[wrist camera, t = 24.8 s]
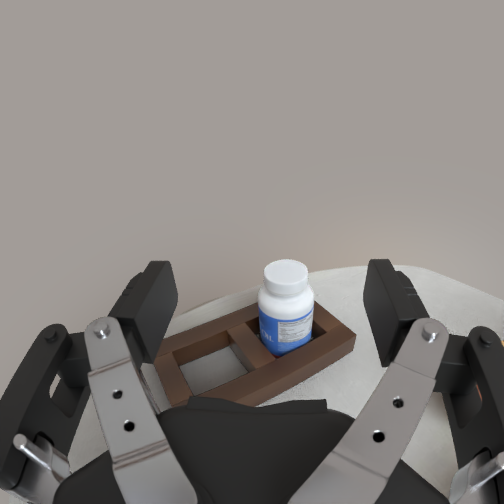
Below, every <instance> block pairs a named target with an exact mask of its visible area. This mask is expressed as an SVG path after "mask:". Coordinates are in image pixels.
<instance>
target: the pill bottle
mask: <svg viewBox="0 0 504 504" xmlns="http://www.w3.org/2000/svg"><path fill="white" fill-rule="evenodd" d="M313 309H314V292H313V289H312V288H311V286H310V285H309V284H308V269H307V267H306V266H305V265H304V264H303V263H301V262H298V261H296V260H290V259H283V260H277V261H274V262H272V263H270V264H268V265H267V266H266V267H265V269H264V285H263V286H262V287H261V288H260V290H259V293H258V310H259V323H260V337H261V342H262V343H263V345H264V346H265V347H266V348H267V349H268V350H269V352H270V353H271V354H272V355H273V356H274V357H275V359H278V358H280V357H282V356H284V355H286V354H288V353H290V352H292V351H294V350H296V349H298V348H300V347H302V346H303V345H305V344H307V343H309V342H311V332H312V321H313Z"/></svg>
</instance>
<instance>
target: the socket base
mask: <svg viewBox="0 0 504 504" xmlns="http://www.w3.org/2000/svg"><path fill="white" fill-rule="evenodd" d="M259 332H260V323H259V310H258V302H257V303H255V304H252V305H250V306H247V307H245V308H242V309H240V310H238V311H235V312H233V313H230V314H228V315H225V316H223V317H220V318H218V319H215V320H212V321H210V322H207V323H205V324H202V325H200V326H197V327H194V328H192V329H189V330H187V331H184V332H181V333H179V334H176V335H173V336H171V337H168V338H165V339H163V340H162V343H161V345H160V348H159V350H158V353H157V355H156V358H155V361H154V366H155V368H156V371H157V373H158V376H159V378H160V381H161V383H162V386H163V388H164V390H165V393H166V395H167V397H168V400H169V402H170V404H171V406H172V408H174V407H177V406H182V405H187V403H188V399H189V395H190V396H193V394H192V392H191V390H190V388H189V386H188V384H187V382H186V380H185V378H184V376H183V374H182V372H181V370H180V368H179V366H180V365H183V364H185V363H188V362H190V361H193V360H195V359H198V358H200V357H203V356H205V355H208V354H210V353H213V352H215V351H218V350H220V349H222V348H225V347H227V346H230V347H231V349H232V350H233V352H234V353H235V354H236V356H237V357H238V358H239V360H240V361H241V363H242V364H243V365H244V367H245V368H246V369H247V371H248V372H249V373H247V374H245V375H243V376H241V377H239V378H237V379H234V380H232V381H230V382H228V383H225V384H223V385H221V386H218V387H216V388H214V389H211V390H209V391H207V392H204V393H202V394H200V395H197V396H200V397H211V398H222V399H226V400H229V401H233V402H236V403H240V404H243V405H247V406H251V407H255V406H257V405H259V404H261V403H263V402H265V401H267V400H269V399H271V398H273V397H275V396H277V395H279V394H280V393H282V392H284V391H286V390H288V389H290V388H292V387H293V386H295V385H297V384H299V383H300V382H302V381H304V380H306V379H307V378H309V377H311V376H313V375H314V374H316V373H318V372H319V371H321V370H323V369H324V368H326V367H328V366H329V365H331V364H333V363H334V362H336V361H337V360H339V359H341V358H342V357H344V356H345V355H347V354H348V353H350V352H351V351H353V348H354V344H355V340H356V334H355V333H354V332H353V331H351V330H350V329H349V328H348V327H346V326H345V325H344V324H342V323H341V322H340V321H339V320H338V319H337V318H335V317H334V316H333V315H332V314H330V313H329V312H328V311H327V310H325V309H324V308H323V307H322V306H321V305H319V304H318V303H317V302H316V301H314V309H313V321H312V332H311V335H312V336H313V337H314V338H315V339H314V340H313V341H311V342H309V343H307V344H305V345H303V346H302V347H300V348H298V349H296V350H294V351H292V352H290V353H288V354H286V355H284V356H282V357H280V358H278V359H275V357H274V356H273V355H272V354H271V353H270V352H269V350H268V349H267V348H266V347H265V346H264V345H263V343H262V342H261V341H260V340H259V339H258V338H257V336H256V335H255V334H257V333H259Z"/></svg>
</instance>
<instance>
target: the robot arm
mask: <svg viewBox="0 0 504 504" xmlns="http://www.w3.org/2000/svg"><path fill="white" fill-rule="evenodd" d="M177 302H178V293H177V288H176V284H175V280H174V275H173V271H172V267H171V264H170V262H169V261H151V262H150V263H149V264H148V266H147V267H146V269H145V270H144V272H143V273H141V272H140V273H139V274H137V275H136V276H135V277H133V278H132V279H131V280H130V282H129V283H128V285H127V287H126V289H124V291H123V292H122V295H121V296H120V297H119V299H118V300H117V302H116V303H115V305H114V306H113V308H112V310H111V311H110V313H109V315H108V316H107V317H102V318H98V319H96V320H94V321H93V322H91V323H90V324H89V325H88V326H87V328H86V329H85V332H80V333H73V334H69V333H68V332H67V329H66V328H65V326H63V325H62V324H52V325H50V326H48V327H46V328H44V329H43V330H42V331H41V332H40V334H39V335H38V336H37V338H36V340H35V341H34V343H33V344H32V346H31V348H30V349H29V351H28V352H27V354H26V356H25V357H24V359H23V361H22V362H21V364H20V366H19V367H18V369H17V371H16V373H15V374H14V376H13V378H12V379H11V381H10V383H9V385H8V387H7V389H6V390H5V392H4V394H3V396H2V398H1V400H0V488H1V489H2V490H4V491H6V492H8V493H9V494H11V495H13V496H14V497H16V498H18V499H20V500H22V501H24V502H27V503H29V504H504V346H503V344H502V342H501V340H500V338H499V337H498V335H497V334H496V333H495V332H494V331H492V330H491V329H489V328H487V327H483V326H478V327H475V328H473V329H472V330H471V331H470V333H469V335H468V337H465V336H458V335H452V334H449V333H448V330H447V328H446V327H445V326H444V325H443V324H442V323H441V322H439V321H437V320H435V319H432V318H430V317H429V315H428V313H427V311H426V309H425V307H424V305H423V303H422V301H421V299H420V297H419V296H418V295H417V292H416V290H415V288H414V286H413V285H412V283H411V281H410V279H409V278H408V277H407V276H406V275H404V274H403V273H402V272H401V271H395V270H394V268H393V266H392V264H391V262H390V261H389V259H371V260H370V261H369V264H368V270H367V275H366V281H365V286H364V292H363V302H364V307H365V310H366V313H367V317H368V320H369V323H370V326H371V330H372V333H373V336H374V340H375V343H376V347H377V350H378V354H379V358H380V361H381V365H382V367H388V369H387V370H386V372H385V374H384V376H383V377H382V379H381V381H380V382H379V384H378V386H377V387H376V389H375V390H374V392H373V394H372V395H371V397H370V398H369V400H368V401H367V403H366V405H365V406H364V408H363V409H362V411H361V412H360V414H359V415H358V417H357V418H356V419H354V418H352V417H351V416H349V415H347V414H344V413H342V412H339V411H335V410H332V409H327V402H326V399H321V400H292V401H287V402H283V403H278V404H273V405H268V406H263V407H251V406H247V405H243V404H240V403H236V402H233V401H229V400H226V399H222V398H211V397H200V396H190V395H189V399H188V403H187V405H182V406H177V407H174V408H170V409H168V410H165V411H163V412H160V410H159V408H158V406H157V404H156V402H155V400H154V398H153V396H152V394H151V391H150V389H149V387H148V385H147V383H146V380H145V378H144V376H143V373H142V371H141V369H140V368H141V365H142V363H150V364H153V363H154V361H155V358H156V355H157V353H158V350H159V348H160V345H161V343H162V340H163V338H164V335H165V333H166V330H167V328H168V325H169V323H170V321H171V318H172V316H173V313H174V311H175V308H176V306H177ZM56 374H58V375H59V377H60V378H61V379H60V381H59V383H58V385H57V387H56V390H55V392H54V394H53V396H52V398H50V395H49V390H50V386H51V384H52V382H53V380H54V378H55V376H56ZM477 386H478V389H479V391H480V394H481V397H482V400H481V397H480V394H479V391H478V389H477ZM432 391H433V392H441V393H442V396H443V400H444V404H445V408H446V412H447V415H448V420H449V424H450V428H451V432H452V437H453V442H454V447H455V452H456V457H457V462H458V468H459V470H458V471H457V473H456V474H455V475H454V477H453V479H452V482H451V489H450V497H449V500H448V499H447V498H446V497H445V496H444V495H443V494H442V493H440V492H439V491H438V490H437V489H436V488H434V487H433V486H432V485H431V484H430V483H428V482H427V481H426V480H425V479H424V478H422V477H421V476H420V475H419V474H418V473H417V472H415V471H414V470H413V469H412V468H411V467H410V466H408V465H407V464H406V463H405V462H404V461H403V460H401V459H400V458H401V456H402V454H403V453H404V451H405V449H406V447H407V445H408V443H409V441H410V439H411V437H412V435H413V433H414V431H415V429H416V427H417V425H418V423H419V421H420V419H421V417H422V414H423V412H424V410H425V408H426V405H427V403H428V401H429V398H430V396H431V394H432ZM91 393H92V397H93V401H94V404H95V408H96V411H97V415H98V418H99V422H100V425H101V428H102V431H103V435H104V438H105V441H106V444H107V447H108V449H109V450H107V451H106V452H104V453H103V454H101V455H100V456H98V457H97V458H95V459H94V460H92V461H91V462H89V463H88V464H86V465H85V466H83V467H82V468H80V469H79V470H77V471H76V472H74V473H73V474H72V473H71V472H70V471H69V470H70V466H69V462H68V459H67V456H68V453H69V450H70V447H71V444H72V441H73V439H74V436H75V433H76V430H77V427H78V425H79V422H80V419H81V417H82V414H83V412H84V409H85V406H86V404H87V401H88V399H89V396H90V394H91Z"/></svg>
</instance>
